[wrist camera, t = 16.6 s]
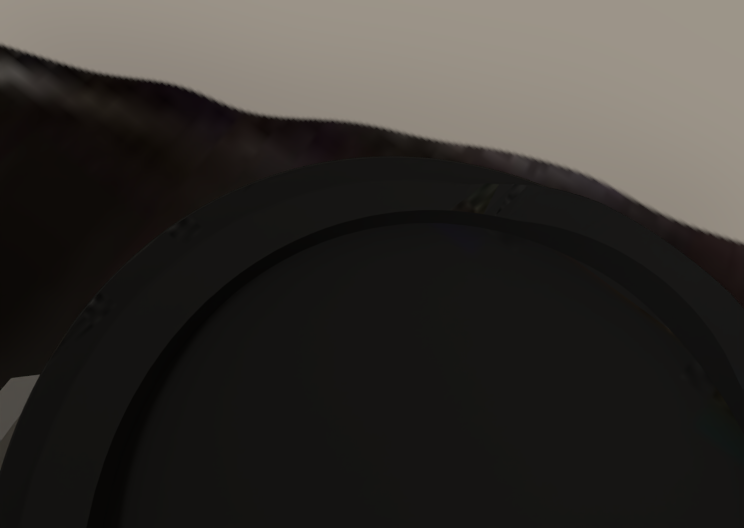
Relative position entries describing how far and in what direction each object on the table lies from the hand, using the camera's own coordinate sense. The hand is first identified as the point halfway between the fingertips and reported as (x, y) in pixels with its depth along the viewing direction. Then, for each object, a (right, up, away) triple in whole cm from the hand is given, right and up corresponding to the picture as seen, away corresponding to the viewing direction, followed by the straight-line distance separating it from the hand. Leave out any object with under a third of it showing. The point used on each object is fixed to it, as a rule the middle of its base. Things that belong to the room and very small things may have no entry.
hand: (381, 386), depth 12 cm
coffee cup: (0, -5, +6) cm, 8 cm away
